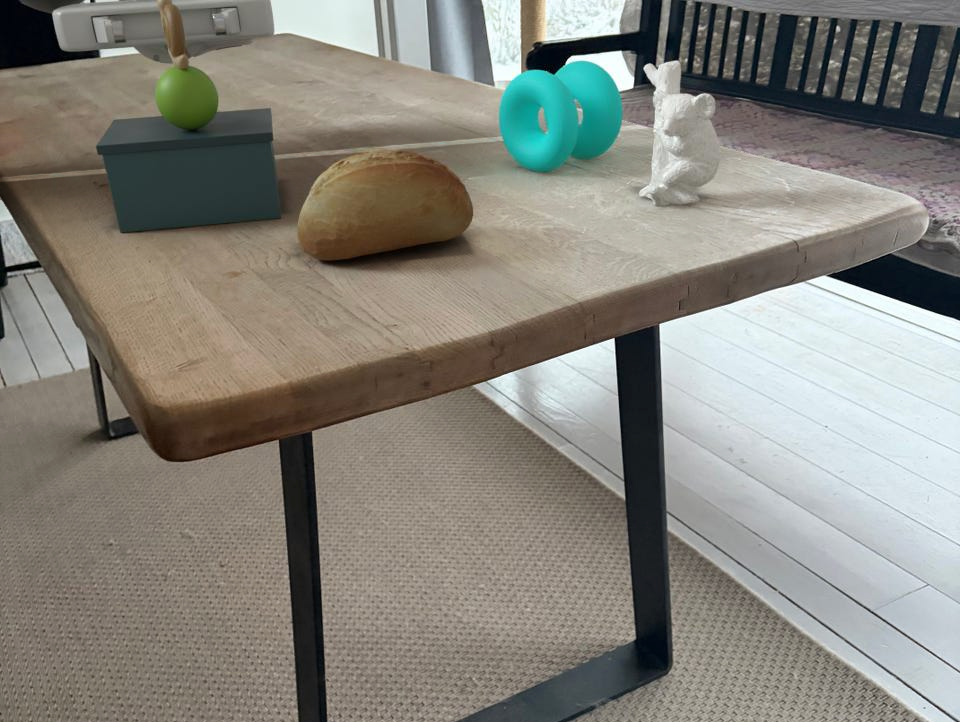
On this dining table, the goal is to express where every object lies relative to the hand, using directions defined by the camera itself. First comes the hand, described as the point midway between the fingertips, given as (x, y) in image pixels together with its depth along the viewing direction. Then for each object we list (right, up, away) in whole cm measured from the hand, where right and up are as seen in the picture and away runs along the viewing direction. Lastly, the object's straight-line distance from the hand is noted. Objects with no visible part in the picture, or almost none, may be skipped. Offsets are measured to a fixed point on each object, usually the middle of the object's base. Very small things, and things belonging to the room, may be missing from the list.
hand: (170, 29), depth 86 cm
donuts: (+37, -8, +16) cm, 41 cm away
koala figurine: (+46, -15, +2) cm, 49 cm away
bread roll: (+21, -22, -7) cm, 31 cm away
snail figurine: (+2, -9, +1) cm, 9 cm away
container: (+2, -15, +6) cm, 16 cm away
